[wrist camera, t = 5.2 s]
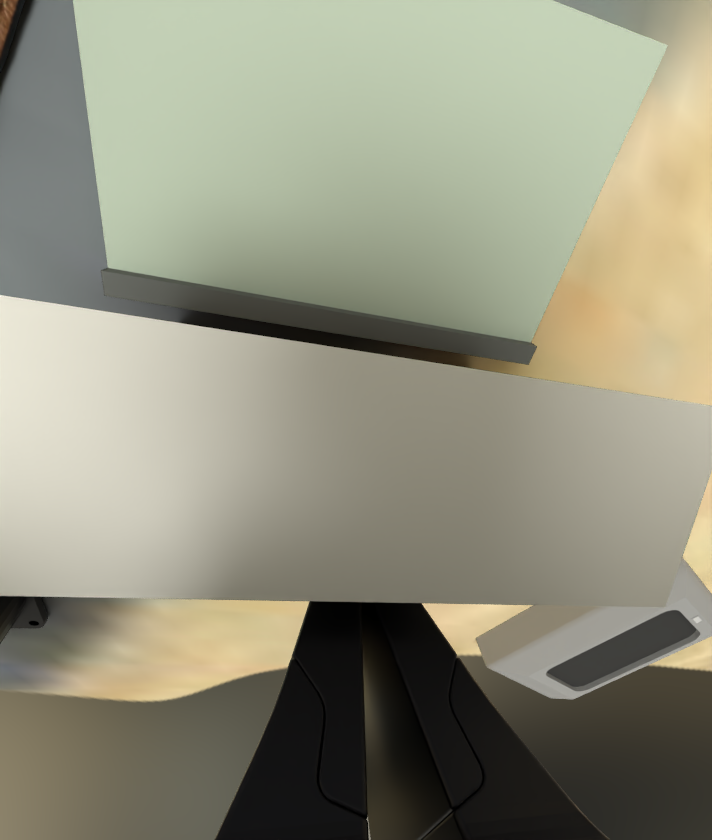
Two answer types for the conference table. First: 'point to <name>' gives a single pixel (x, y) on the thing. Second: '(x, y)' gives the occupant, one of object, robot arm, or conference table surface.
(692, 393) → the conference table surface
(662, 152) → the conference table surface
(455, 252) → the mat
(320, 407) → the walnut block
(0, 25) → the sunglasses case
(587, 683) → the grey flat block
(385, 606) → the robot arm
